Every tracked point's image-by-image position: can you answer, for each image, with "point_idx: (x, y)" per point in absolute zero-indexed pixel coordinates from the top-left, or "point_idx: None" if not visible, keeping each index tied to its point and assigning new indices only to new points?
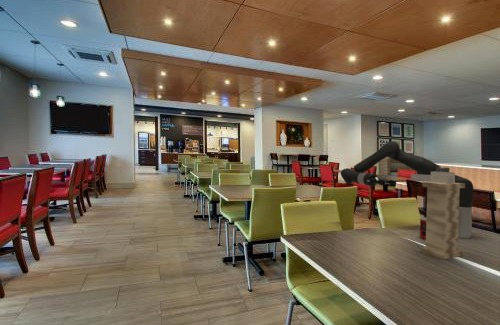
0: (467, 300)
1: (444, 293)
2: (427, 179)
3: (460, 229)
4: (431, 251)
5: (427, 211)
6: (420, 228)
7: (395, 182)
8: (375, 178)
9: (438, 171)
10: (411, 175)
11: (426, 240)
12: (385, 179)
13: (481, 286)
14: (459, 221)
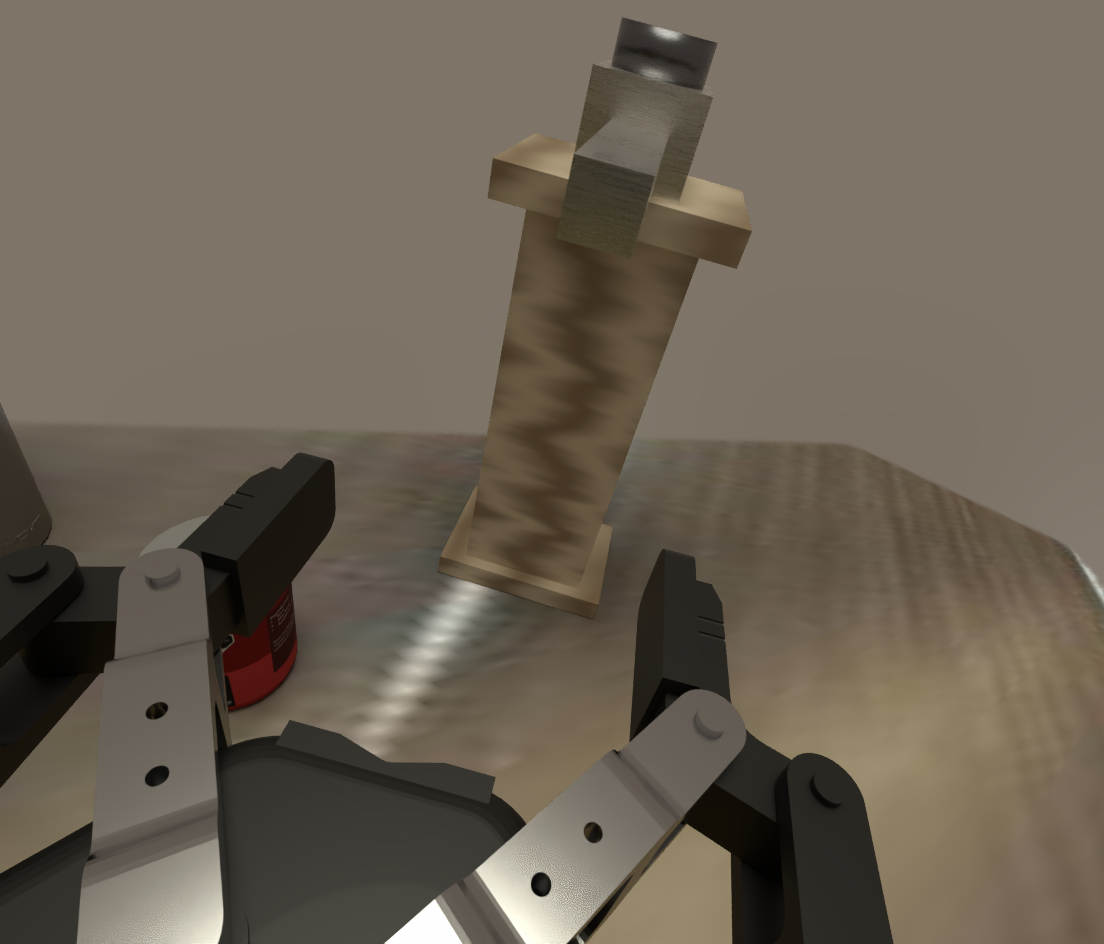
0: (832, 472)
1: (857, 503)
2: (653, 187)
3: (27, 489)
4: (606, 561)
5: (638, 421)
6: (250, 658)
7: (332, 477)
8: (602, 905)
9: (703, 84)
10: (649, 195)
11: (588, 557)
12: (207, 668)
13: (722, 457)
14: (3, 446)
